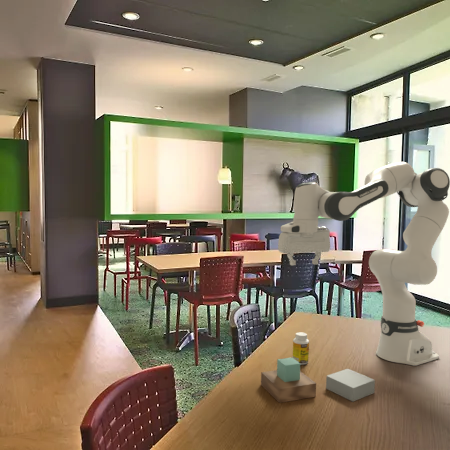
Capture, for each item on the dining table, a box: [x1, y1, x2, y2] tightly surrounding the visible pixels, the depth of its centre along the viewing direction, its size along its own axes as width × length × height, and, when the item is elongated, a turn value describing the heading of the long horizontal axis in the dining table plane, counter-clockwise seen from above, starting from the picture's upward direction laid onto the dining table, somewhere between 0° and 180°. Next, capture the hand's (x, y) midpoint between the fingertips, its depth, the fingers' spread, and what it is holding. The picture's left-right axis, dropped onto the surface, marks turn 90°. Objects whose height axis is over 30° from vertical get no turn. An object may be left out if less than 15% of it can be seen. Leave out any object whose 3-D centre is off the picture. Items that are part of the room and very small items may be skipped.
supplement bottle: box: [292, 331, 310, 366], centre depth 153 cm, size 6×6×10 cm
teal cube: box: [276, 356, 301, 382], centre depth 131 cm, size 5×5×5 cm
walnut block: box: [260, 369, 317, 404], centre depth 131 cm, size 12×12×4 cm
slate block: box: [325, 368, 376, 402], centre depth 132 cm, size 10×10×4 cm
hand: (304, 264), depth 160 cm, fingers open, 8 cm apart
